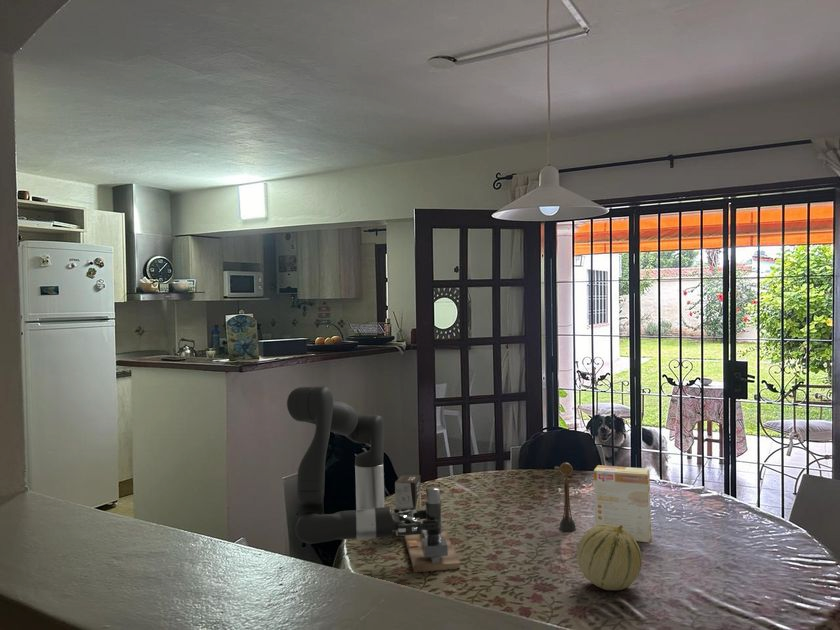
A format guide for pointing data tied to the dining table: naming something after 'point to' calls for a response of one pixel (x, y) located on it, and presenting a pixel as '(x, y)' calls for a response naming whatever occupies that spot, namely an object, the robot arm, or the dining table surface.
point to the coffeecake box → (623, 499)
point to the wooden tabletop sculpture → (566, 499)
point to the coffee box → (408, 493)
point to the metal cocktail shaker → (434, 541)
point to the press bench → (429, 563)
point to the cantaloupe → (609, 557)
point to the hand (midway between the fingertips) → (435, 518)
